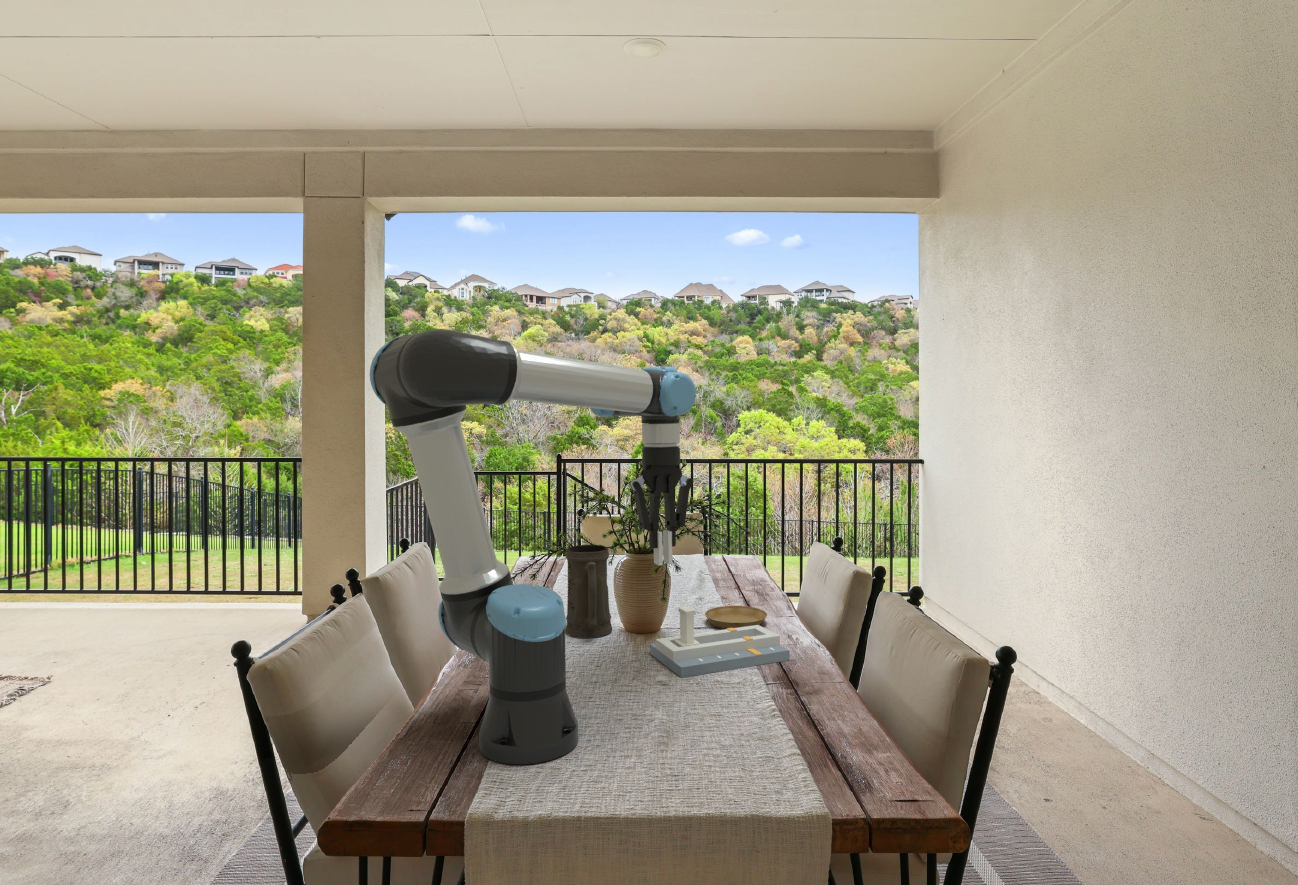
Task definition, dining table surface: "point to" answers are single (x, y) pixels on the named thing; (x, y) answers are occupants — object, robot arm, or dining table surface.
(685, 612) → the fader tab
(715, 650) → the console
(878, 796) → the dining table surface
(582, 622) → the beer stein
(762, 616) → the plant saucer
